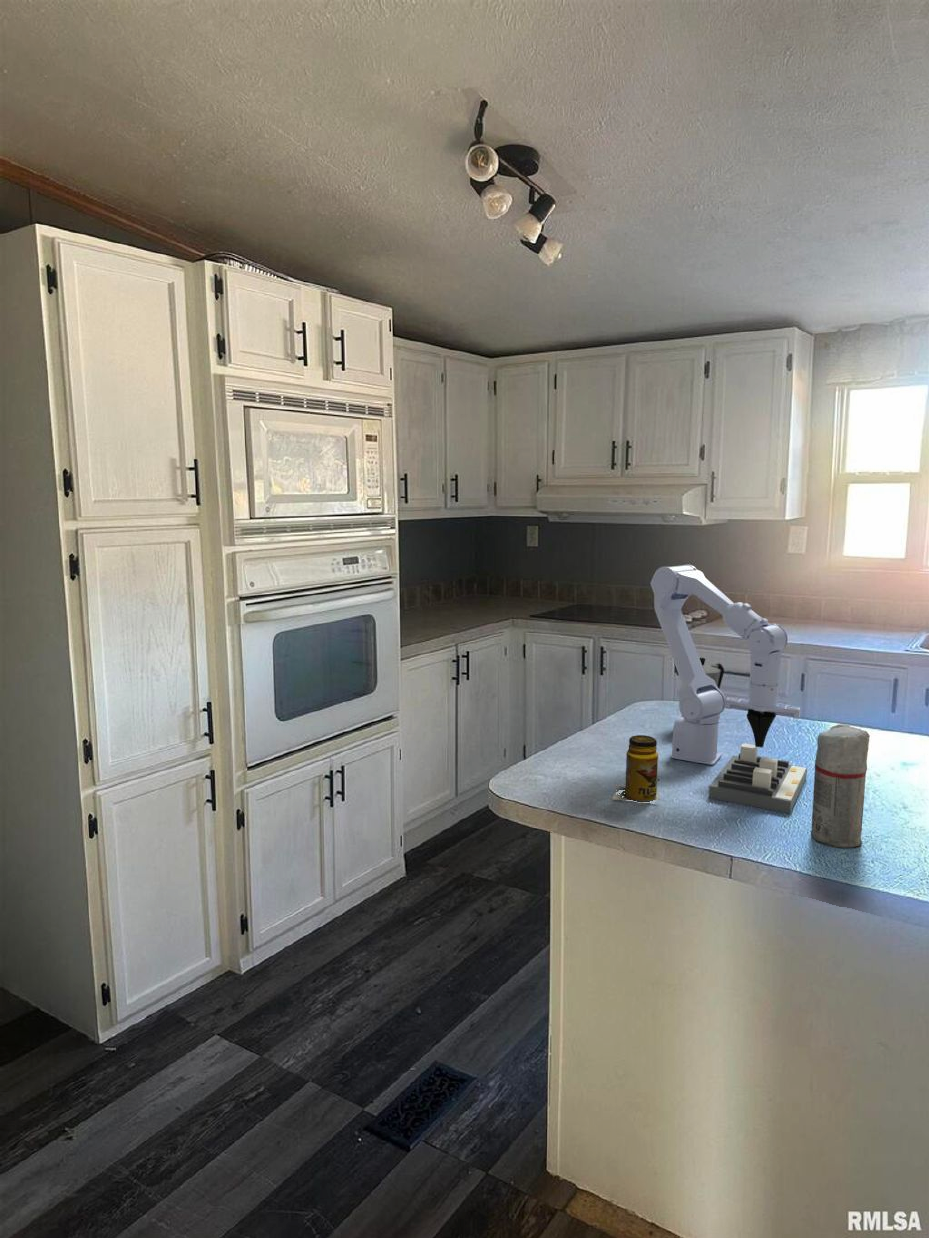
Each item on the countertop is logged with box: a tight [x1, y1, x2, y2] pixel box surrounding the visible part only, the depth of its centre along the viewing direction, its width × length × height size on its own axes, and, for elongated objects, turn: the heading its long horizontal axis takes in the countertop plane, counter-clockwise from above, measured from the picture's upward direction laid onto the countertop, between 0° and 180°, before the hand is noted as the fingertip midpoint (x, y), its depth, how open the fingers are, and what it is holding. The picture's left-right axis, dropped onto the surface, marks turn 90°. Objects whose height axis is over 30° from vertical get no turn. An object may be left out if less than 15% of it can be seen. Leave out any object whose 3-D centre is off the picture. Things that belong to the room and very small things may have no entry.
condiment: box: [612, 734, 660, 806], centre depth 154 cm, size 7×8×12 cm
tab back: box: [739, 742, 759, 763], centre depth 166 cm, size 3×2×4 cm
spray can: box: [810, 723, 870, 849], centre depth 134 cm, size 8×8×20 cm
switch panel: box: [708, 752, 808, 814], centre depth 159 cm, size 15×21×3 cm
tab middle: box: [759, 756, 779, 778], centre depth 157 cm, size 3×2×4 cm
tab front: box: [752, 767, 772, 789], centre depth 152 cm, size 3×2×4 cm
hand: (759, 745), depth 165 cm, fingers closed
